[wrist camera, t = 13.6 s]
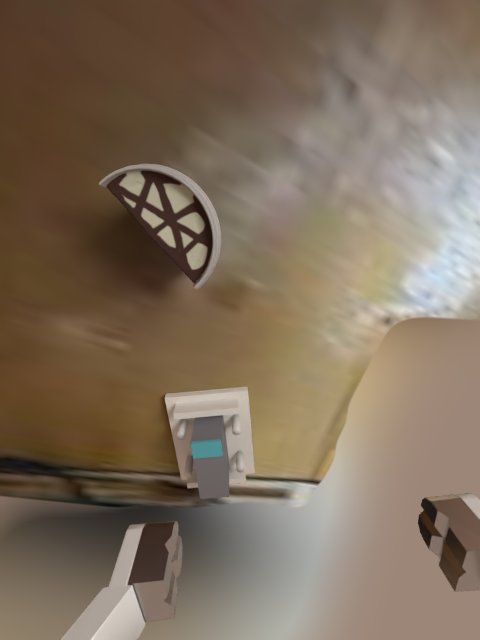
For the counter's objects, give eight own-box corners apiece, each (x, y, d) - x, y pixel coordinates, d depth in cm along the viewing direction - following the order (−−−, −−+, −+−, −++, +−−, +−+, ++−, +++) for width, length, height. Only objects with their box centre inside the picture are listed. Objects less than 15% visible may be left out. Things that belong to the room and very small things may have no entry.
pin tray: (247, 386, 42) (249, 403, 38) (254, 468, 47) (256, 490, 43) (165, 393, 41) (159, 411, 38) (182, 475, 47) (178, 497, 43)
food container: (243, 240, 34) (249, 249, 25) (205, 272, 36) (197, 293, 26) (172, 150, 31) (148, 121, 21) (133, 189, 32) (93, 178, 23)
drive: (222, 408, 42) (221, 441, 36) (229, 461, 45) (229, 499, 39) (195, 411, 41) (189, 444, 35) (204, 463, 45) (200, 502, 39)
